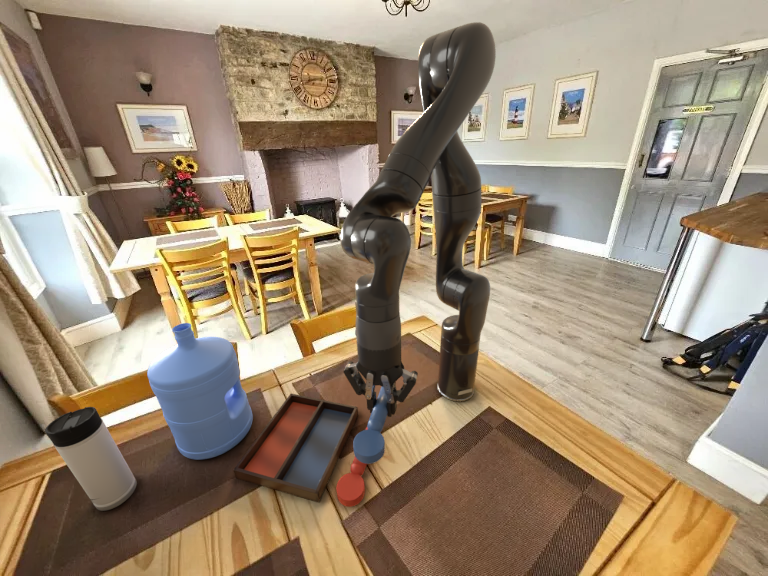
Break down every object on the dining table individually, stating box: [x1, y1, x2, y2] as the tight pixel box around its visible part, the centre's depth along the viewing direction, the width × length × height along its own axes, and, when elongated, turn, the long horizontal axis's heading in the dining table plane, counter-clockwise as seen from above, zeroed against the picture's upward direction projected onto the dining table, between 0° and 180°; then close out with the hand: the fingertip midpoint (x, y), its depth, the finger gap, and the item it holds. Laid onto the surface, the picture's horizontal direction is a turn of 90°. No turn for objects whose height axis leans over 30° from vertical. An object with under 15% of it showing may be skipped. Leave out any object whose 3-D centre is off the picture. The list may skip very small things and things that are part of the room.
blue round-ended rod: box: [352, 386, 388, 465], centre depth 56 cm, size 17×5×3 cm, turn 165°
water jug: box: [146, 322, 254, 461], centre depth 66 cm, size 16×16×28 cm
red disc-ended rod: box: [335, 427, 368, 508], centre depth 63 cm, size 17×5×3 cm, turn 164°
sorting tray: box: [232, 393, 359, 503], centre depth 67 cm, size 21×18×3 cm
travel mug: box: [44, 406, 138, 512], centre depth 55 cm, size 6×7×20 cm
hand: (381, 411), depth 59 cm, fingers closed on blue round-ended rod, 2 cm apart
